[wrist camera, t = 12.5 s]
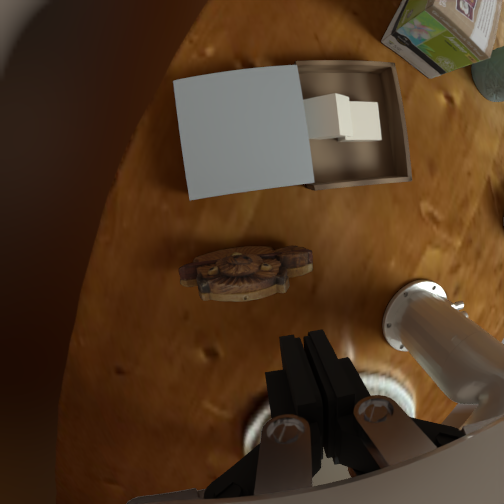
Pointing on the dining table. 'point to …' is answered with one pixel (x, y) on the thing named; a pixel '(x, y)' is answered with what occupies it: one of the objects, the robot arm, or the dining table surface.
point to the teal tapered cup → (490, 76)
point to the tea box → (443, 33)
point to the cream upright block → (328, 116)
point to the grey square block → (243, 131)
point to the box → (358, 153)
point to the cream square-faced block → (364, 122)
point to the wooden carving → (245, 272)
